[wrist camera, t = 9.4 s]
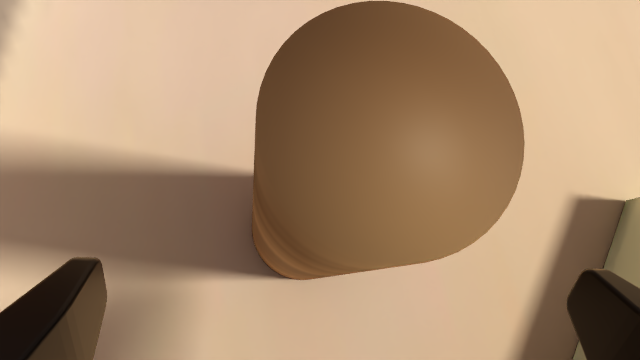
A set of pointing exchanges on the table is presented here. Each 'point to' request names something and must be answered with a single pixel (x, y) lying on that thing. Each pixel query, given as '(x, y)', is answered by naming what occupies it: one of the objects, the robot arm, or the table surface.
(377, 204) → the walnut dowel
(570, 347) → the table surface
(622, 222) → the tray
